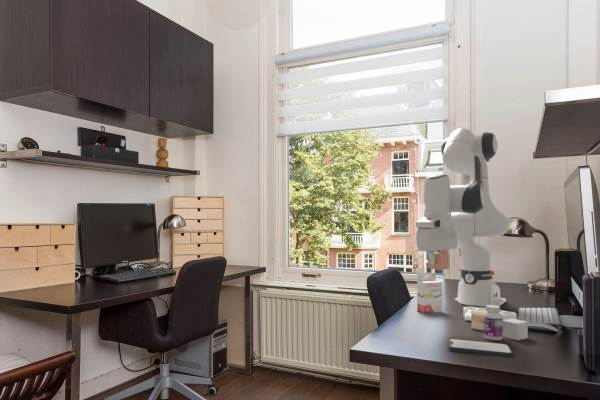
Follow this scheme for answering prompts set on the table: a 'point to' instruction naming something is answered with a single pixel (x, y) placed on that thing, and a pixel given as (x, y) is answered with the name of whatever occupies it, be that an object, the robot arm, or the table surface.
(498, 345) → the phone case
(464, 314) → the knuckle duster
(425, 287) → the ink cartridge box
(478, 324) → the maple block
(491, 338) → the pill bottle
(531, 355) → the table surface
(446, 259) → the terracotta block
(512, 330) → the grey block
